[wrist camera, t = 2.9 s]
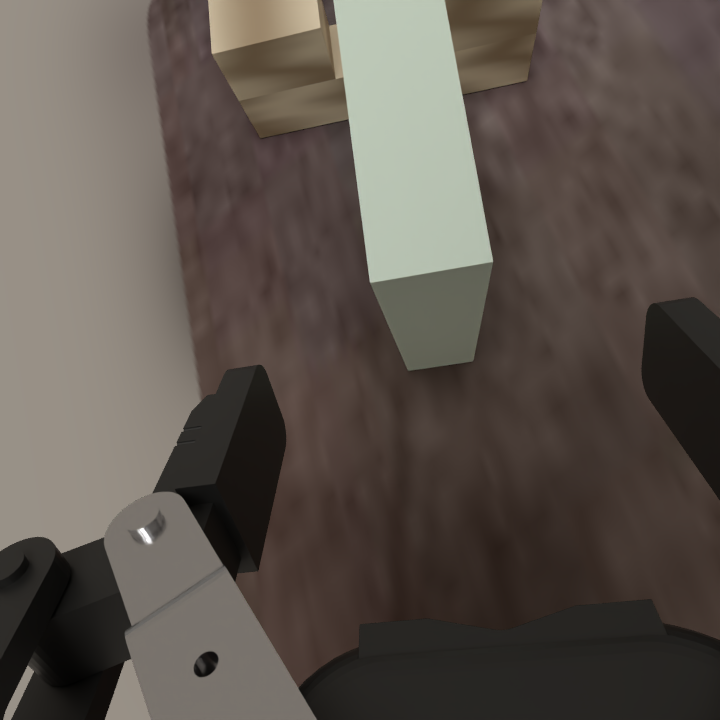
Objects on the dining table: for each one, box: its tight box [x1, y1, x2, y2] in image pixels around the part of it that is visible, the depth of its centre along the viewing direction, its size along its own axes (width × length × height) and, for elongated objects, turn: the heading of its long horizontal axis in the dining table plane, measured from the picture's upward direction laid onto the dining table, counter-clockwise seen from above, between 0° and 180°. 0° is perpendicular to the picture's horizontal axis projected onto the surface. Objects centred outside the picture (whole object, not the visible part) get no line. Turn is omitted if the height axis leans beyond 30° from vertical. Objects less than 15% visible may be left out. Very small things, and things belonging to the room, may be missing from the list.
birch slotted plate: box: [208, 0, 542, 138], centre depth 25 cm, size 14×3×6 cm, turn 97°
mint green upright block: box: [334, 0, 493, 371], centre depth 20 cm, size 9×3×12 cm, turn 7°
